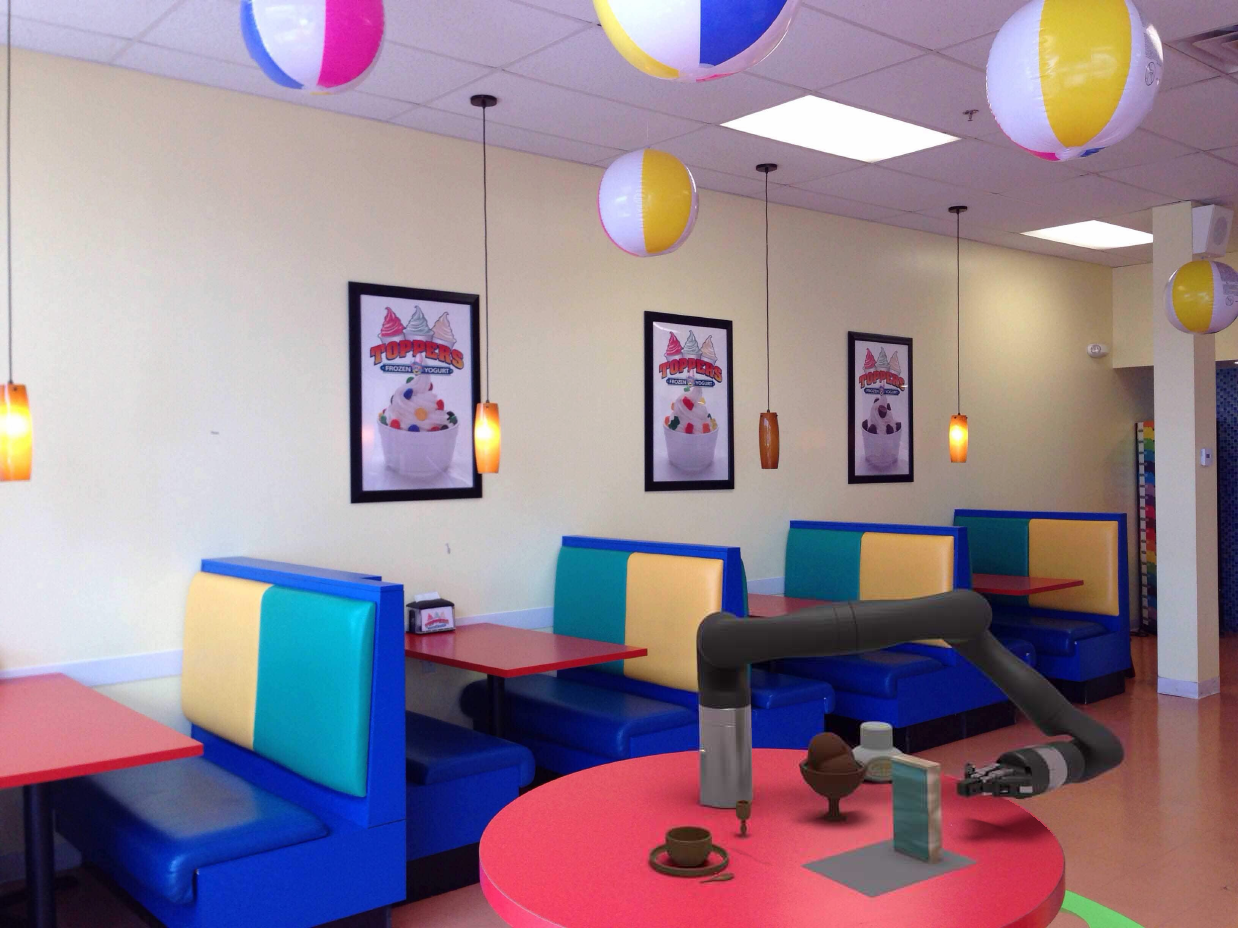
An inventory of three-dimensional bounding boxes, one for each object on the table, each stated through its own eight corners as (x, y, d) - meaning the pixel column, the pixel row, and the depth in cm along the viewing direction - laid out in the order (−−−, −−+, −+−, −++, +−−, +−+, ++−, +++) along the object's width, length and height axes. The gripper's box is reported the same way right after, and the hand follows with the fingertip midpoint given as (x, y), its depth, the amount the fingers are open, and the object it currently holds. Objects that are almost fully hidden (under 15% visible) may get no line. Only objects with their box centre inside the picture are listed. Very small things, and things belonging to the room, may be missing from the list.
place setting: (630, 851, 160) (630, 813, 160) (746, 833, 166) (745, 797, 167) (674, 893, 143) (673, 850, 143) (800, 871, 150) (799, 831, 150)
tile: (928, 863, 149) (926, 767, 149) (892, 849, 154) (890, 756, 155) (942, 859, 150) (940, 763, 150) (905, 845, 156) (903, 753, 156)
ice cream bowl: (870, 834, 163) (867, 740, 164) (799, 831, 166) (797, 738, 166) (867, 813, 174) (865, 724, 174) (801, 810, 176) (798, 722, 176)
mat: (871, 903, 137) (871, 897, 137) (800, 870, 149) (800, 864, 149) (979, 866, 149) (978, 861, 149) (904, 839, 161) (904, 834, 161)
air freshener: (899, 770, 198) (898, 719, 199) (912, 783, 190) (911, 729, 190) (843, 772, 198) (842, 720, 198) (854, 784, 190) (853, 730, 190)
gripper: (996, 739, 173) (926, 756, 164) (1067, 756, 162) (996, 775, 152) (997, 783, 173) (927, 803, 163) (1068, 803, 162) (997, 825, 152)
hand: (961, 789), depth 158 cm, fingers closed
